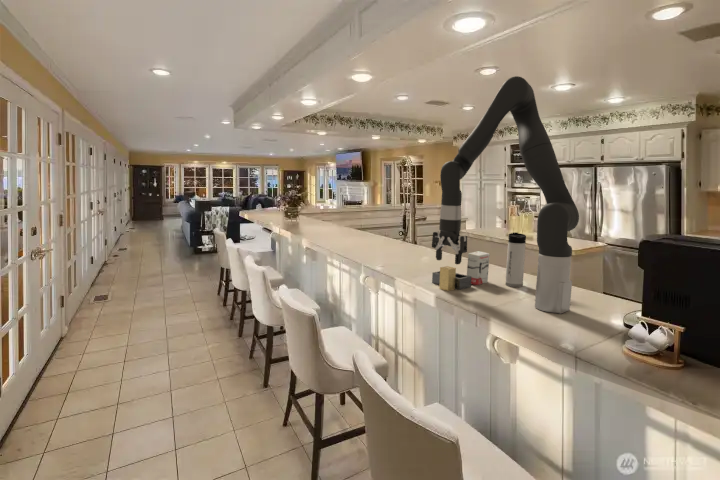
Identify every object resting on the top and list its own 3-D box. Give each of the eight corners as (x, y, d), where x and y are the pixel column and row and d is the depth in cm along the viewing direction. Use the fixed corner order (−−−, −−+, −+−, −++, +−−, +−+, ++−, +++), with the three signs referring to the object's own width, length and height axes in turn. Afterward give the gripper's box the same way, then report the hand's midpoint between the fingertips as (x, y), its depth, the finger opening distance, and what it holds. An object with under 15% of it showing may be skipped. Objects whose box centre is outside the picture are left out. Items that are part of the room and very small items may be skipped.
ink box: (477, 285, 157) (478, 255, 155) (465, 283, 160) (467, 253, 158) (488, 282, 163) (490, 252, 161) (477, 279, 166) (478, 250, 164)
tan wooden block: (454, 289, 151) (455, 267, 150) (447, 291, 149) (448, 269, 147) (446, 287, 154) (447, 266, 153) (439, 288, 152) (440, 267, 150)
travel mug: (519, 283, 161) (523, 232, 158) (524, 287, 154) (528, 234, 152) (503, 282, 162) (506, 232, 159) (507, 287, 155) (511, 234, 152)
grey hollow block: (470, 286, 155) (471, 276, 154) (459, 289, 150) (459, 279, 150) (443, 280, 165) (444, 270, 164) (432, 282, 160) (432, 272, 160)
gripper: (473, 219, 145) (470, 264, 147) (441, 215, 155) (439, 257, 158) (460, 220, 140) (457, 266, 142) (428, 216, 151) (426, 259, 153)
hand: (448, 262), depth 150 cm, fingers open, 8 cm apart
